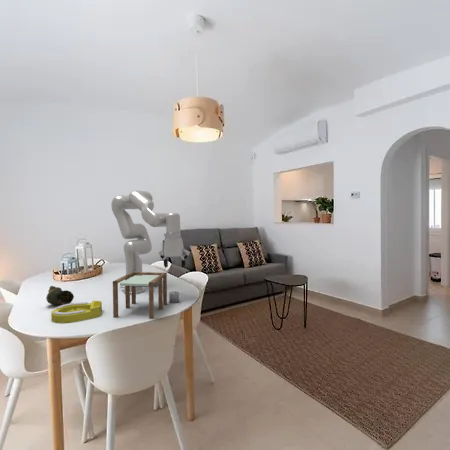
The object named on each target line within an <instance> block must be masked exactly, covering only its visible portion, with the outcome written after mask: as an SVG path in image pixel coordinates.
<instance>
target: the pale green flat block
mask: <svg viewBox="0 0 450 450" xmlns="http://www.w3.org/2000/svg"><path fill="white" fill-rule="evenodd" d="M158 276H159V275H142V276H133V277H131V278H129V279H127V280H123V281H121V282H119V286H120V285H125V286H134V287H143V288H149V282H150V281H152V280H153V279H155V278H156V277H158ZM153 287H154V288H158V281H157V282H156V283H155V284H153Z"/></svg>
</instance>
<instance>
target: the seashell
mask: <svg viewBox="0 0 450 450" xmlns="http://www.w3.org/2000/svg"><path fill="white" fill-rule="evenodd" d="M48 288H49V289H48V293H47V295H46V302H47V303H48V304H50V305H54V306H62V305H65V304H70V303H73V300H74V297H75V296H74V293H73V292H72V291H70V290H62V288H61V287H59V286H57V287H56V286H54V285H50V286H49V287H48Z"/></svg>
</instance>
